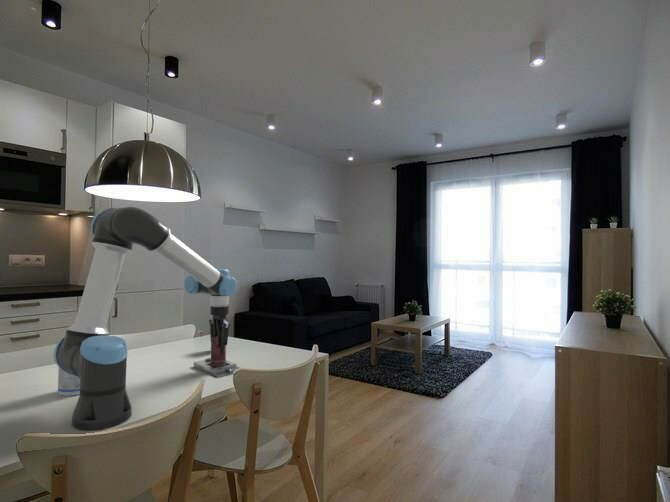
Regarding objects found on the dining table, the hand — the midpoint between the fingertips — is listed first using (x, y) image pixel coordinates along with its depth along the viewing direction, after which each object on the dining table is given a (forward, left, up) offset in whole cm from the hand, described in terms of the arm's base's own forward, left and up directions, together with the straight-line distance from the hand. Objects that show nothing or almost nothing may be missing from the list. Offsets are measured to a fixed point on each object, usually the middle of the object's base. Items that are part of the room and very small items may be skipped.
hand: (218, 360), depth 166 cm
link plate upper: (0, +3, -3) cm, 4 cm away
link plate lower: (0, -3, -3) cm, 4 cm away
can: (0, 0, -4) cm, 4 cm away
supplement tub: (-50, +9, -4) cm, 51 cm away
